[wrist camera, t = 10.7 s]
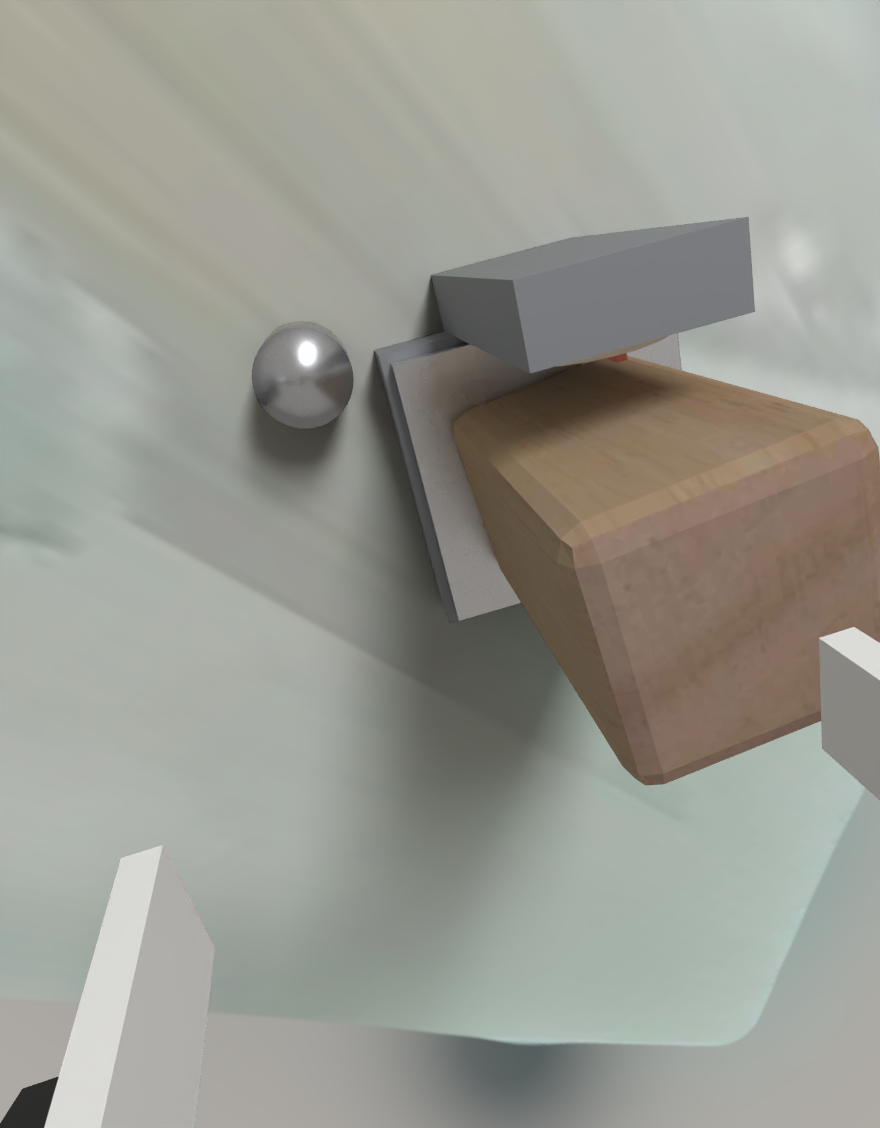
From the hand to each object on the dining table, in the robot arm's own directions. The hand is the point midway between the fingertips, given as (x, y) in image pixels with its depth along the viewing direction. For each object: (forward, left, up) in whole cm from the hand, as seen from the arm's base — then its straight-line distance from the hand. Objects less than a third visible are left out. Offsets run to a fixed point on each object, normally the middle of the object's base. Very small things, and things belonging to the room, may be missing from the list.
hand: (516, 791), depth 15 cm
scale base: (+9, -1, -31) cm, 33 cm away
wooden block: (+9, -3, -27) cm, 29 cm away
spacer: (-3, +5, -31) cm, 32 cm away
